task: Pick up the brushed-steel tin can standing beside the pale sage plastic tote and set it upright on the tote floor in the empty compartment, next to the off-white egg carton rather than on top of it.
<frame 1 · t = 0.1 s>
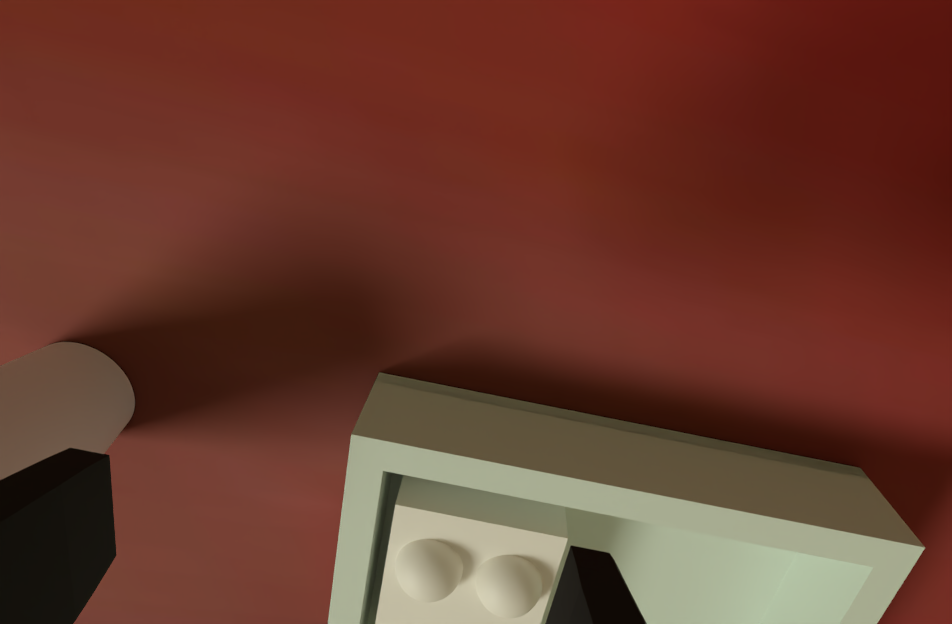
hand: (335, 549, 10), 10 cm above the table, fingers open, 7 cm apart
tote: (574, 556, 22), on the table
smoothie: (85, 387, 21), on the table
egg carton: (465, 547, 22), point 1 cm above the table, touching tote
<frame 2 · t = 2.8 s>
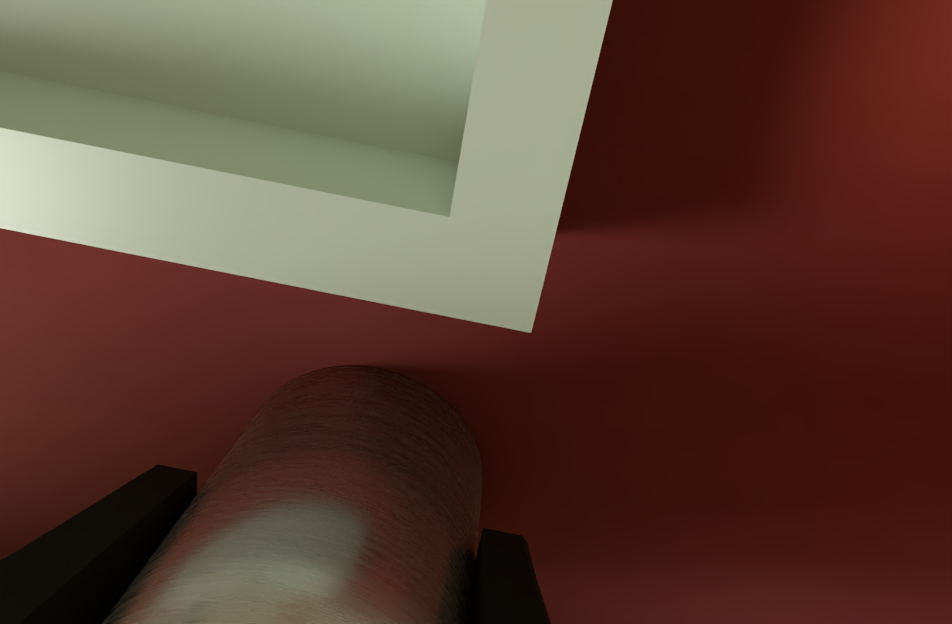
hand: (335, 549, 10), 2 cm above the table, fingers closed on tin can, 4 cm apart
tin can: (364, 471, 11), on the table, touching gripper
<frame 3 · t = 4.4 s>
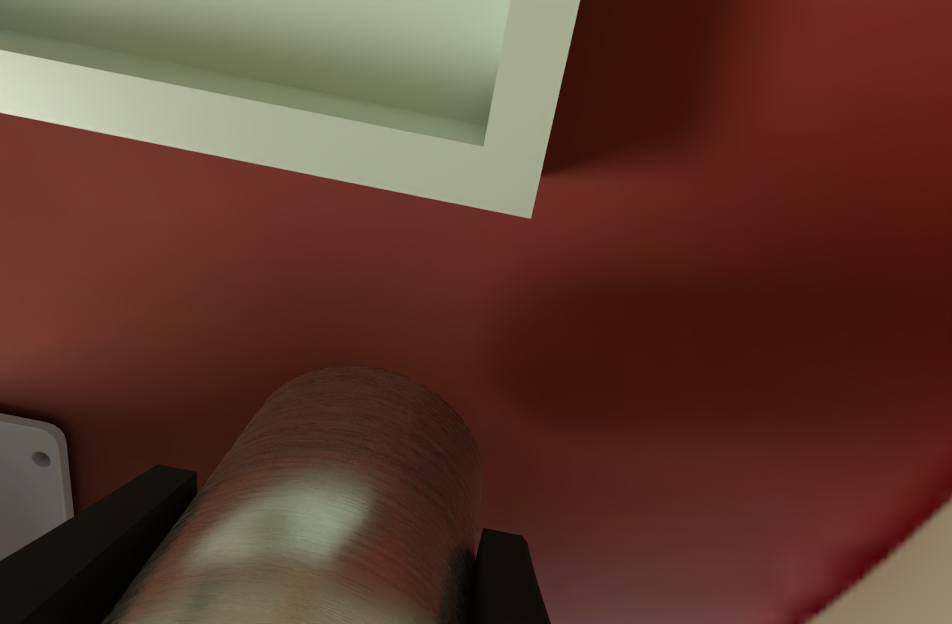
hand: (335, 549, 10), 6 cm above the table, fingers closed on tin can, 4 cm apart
tin can: (364, 470, 11), point 4 cm above the table, touching gripper
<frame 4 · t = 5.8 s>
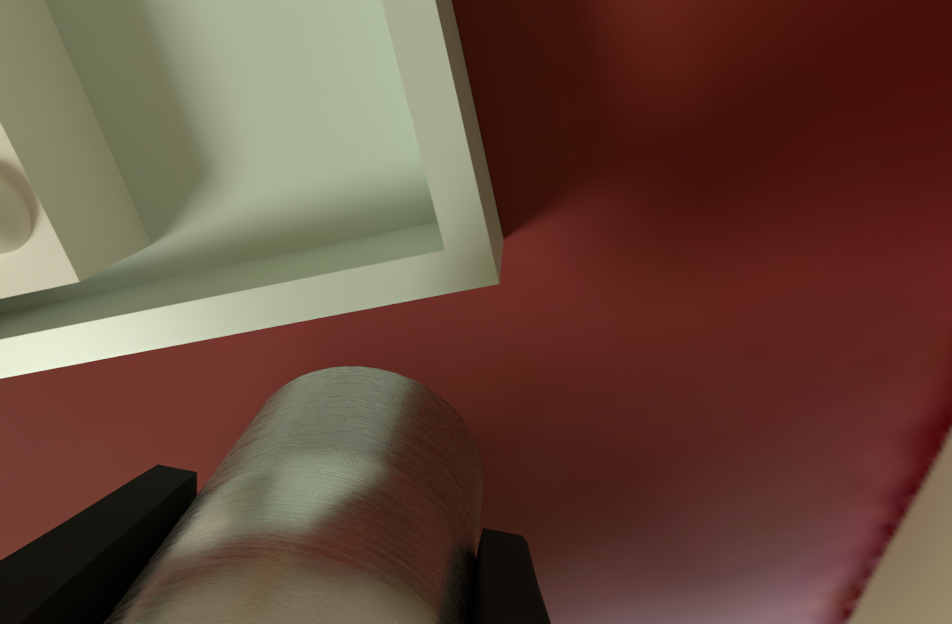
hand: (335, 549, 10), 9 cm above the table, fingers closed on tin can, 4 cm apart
tote: (152, 80, 16), on the table
tin can: (364, 471, 11), point 7 cm above the table, touching gripper
egg carton: (1, 117, 16), point 1 cm above the table, touching tote
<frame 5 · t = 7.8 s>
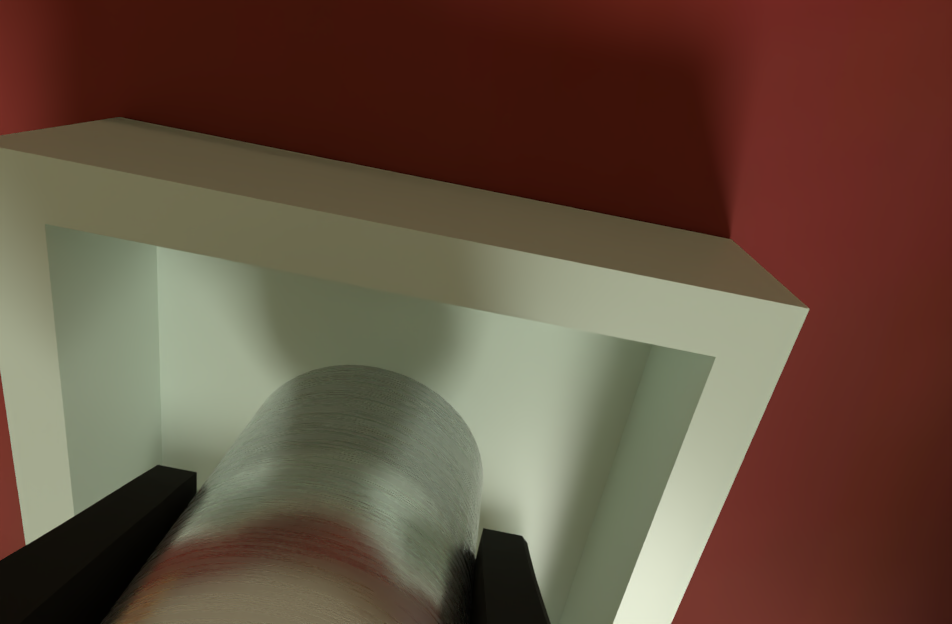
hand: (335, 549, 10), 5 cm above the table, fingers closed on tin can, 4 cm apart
tote: (377, 501, 15), on the table
tin can: (364, 470, 11), point 3 cm above the table, touching gripper
when the fingers open (4 cm above the table, at t = 9.1 s): tin can drops 1 cm, resting on tote.
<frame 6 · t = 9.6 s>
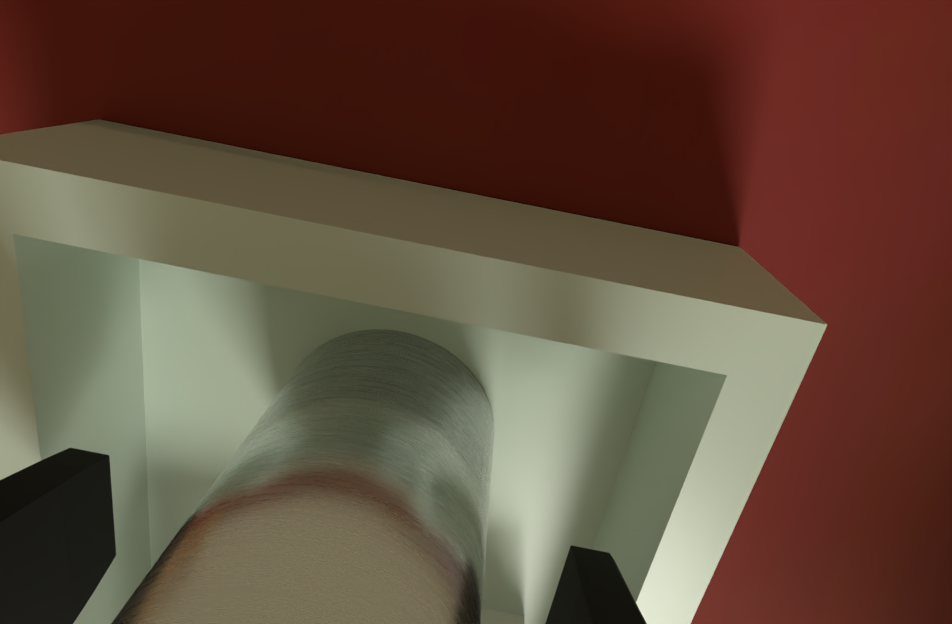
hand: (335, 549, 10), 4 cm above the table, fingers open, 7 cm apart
tote: (371, 517, 14), on the table
tin can: (388, 426, 13), point 1 cm above the table, touching tote
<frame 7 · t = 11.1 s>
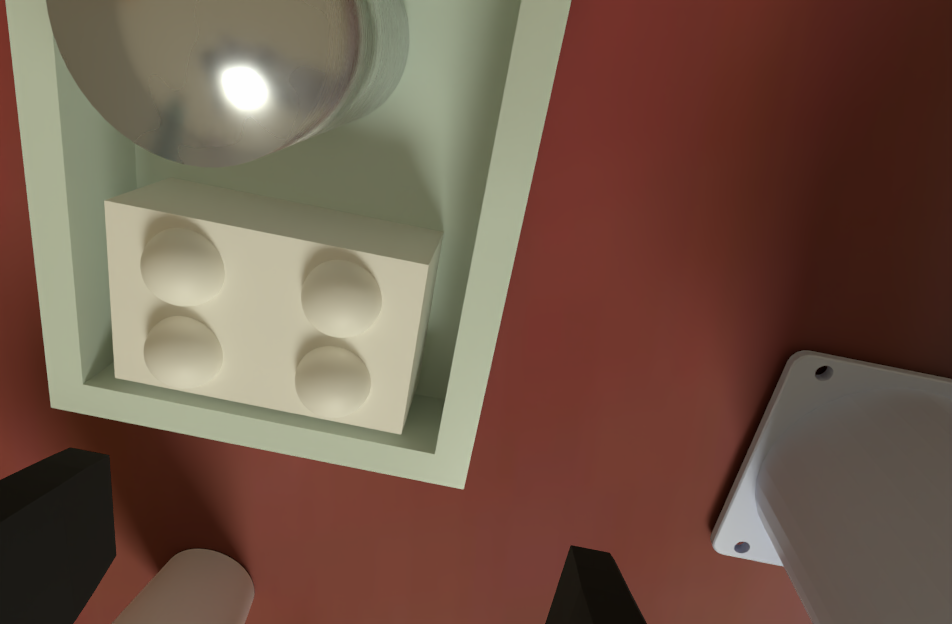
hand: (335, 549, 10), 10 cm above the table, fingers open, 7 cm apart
tote: (317, 149, 17), on the table
smoothie: (212, 580, 25), on the table
tin can: (325, 34, 16), point 1 cm above the table, touching tote
egg carton: (301, 284, 19), point 1 cm above the table, touching tote
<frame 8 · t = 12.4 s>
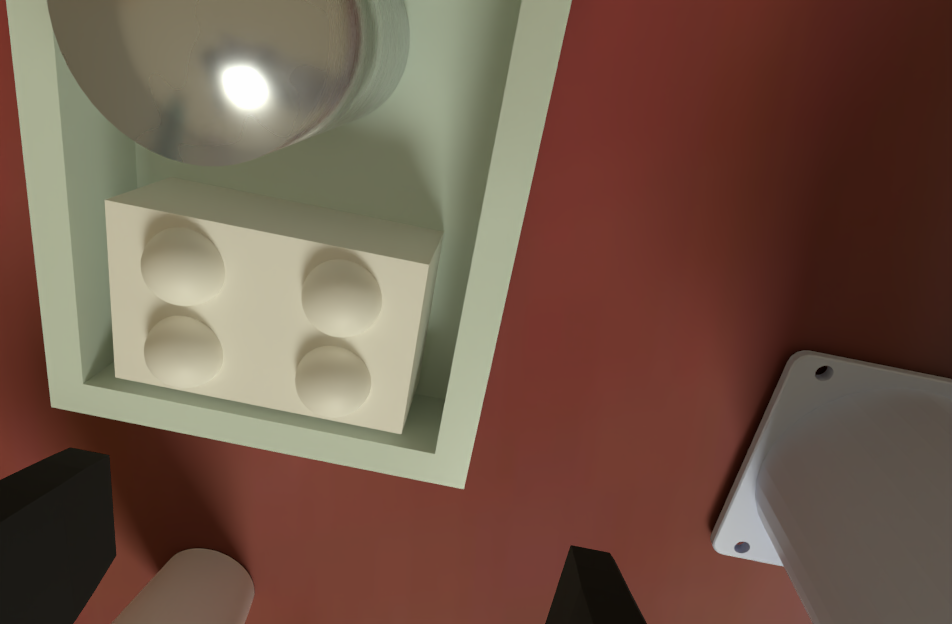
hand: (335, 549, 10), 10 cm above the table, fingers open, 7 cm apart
tote: (318, 148, 17), on the table
smoothie: (212, 579, 25), on the table
tin can: (325, 34, 16), point 1 cm above the table, touching tote
egg carton: (301, 284, 19), point 1 cm above the table, touching tote
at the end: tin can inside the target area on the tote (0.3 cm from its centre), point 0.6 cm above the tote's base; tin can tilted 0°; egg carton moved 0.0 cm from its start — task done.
